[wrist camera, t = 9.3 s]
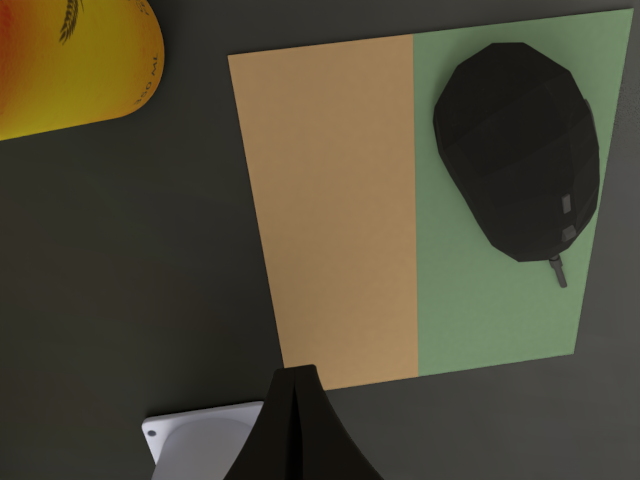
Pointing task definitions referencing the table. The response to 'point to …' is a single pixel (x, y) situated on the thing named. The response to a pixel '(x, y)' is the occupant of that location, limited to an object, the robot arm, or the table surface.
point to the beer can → (75, 62)
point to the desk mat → (403, 204)
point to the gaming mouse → (520, 150)
